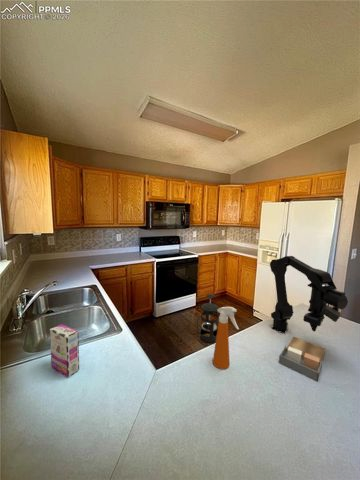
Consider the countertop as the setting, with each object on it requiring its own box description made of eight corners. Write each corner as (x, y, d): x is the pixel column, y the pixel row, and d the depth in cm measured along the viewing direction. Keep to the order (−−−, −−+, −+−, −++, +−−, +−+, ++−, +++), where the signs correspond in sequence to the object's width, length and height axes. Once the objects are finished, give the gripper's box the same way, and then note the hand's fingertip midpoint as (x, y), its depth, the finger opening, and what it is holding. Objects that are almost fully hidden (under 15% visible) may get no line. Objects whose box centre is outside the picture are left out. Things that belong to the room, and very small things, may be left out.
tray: (278, 362, 86) (279, 355, 85) (284, 352, 92) (285, 345, 92) (317, 381, 76) (318, 373, 76) (321, 368, 83) (322, 361, 82)
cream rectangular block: (288, 356, 89) (286, 360, 87) (289, 346, 88) (287, 349, 86) (300, 362, 86) (299, 365, 84) (302, 351, 85) (301, 354, 83)
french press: (216, 332, 107) (218, 291, 104) (221, 343, 98) (224, 298, 95) (194, 333, 106) (196, 291, 103) (198, 344, 96) (200, 299, 94)
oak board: (285, 353, 92) (286, 348, 92) (293, 340, 101) (293, 336, 101) (319, 368, 83) (320, 362, 83) (324, 353, 93) (324, 348, 92)
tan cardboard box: (304, 363, 85) (303, 367, 83) (305, 352, 84) (304, 356, 82) (318, 369, 82) (317, 373, 80) (319, 358, 81) (318, 362, 79)
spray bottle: (230, 378, 77) (234, 313, 74) (209, 362, 85) (212, 303, 82) (240, 369, 81) (244, 308, 78) (219, 355, 89) (222, 299, 86)
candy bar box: (80, 369, 79) (79, 330, 77) (68, 378, 74) (66, 337, 73) (63, 359, 84) (61, 323, 82) (50, 367, 80) (48, 328, 78)
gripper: (337, 312, 78) (332, 348, 80) (343, 298, 91) (338, 330, 93) (305, 302, 86) (301, 336, 88) (314, 291, 99) (310, 321, 101)
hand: (313, 330), depth 92 cm, fingers closed
